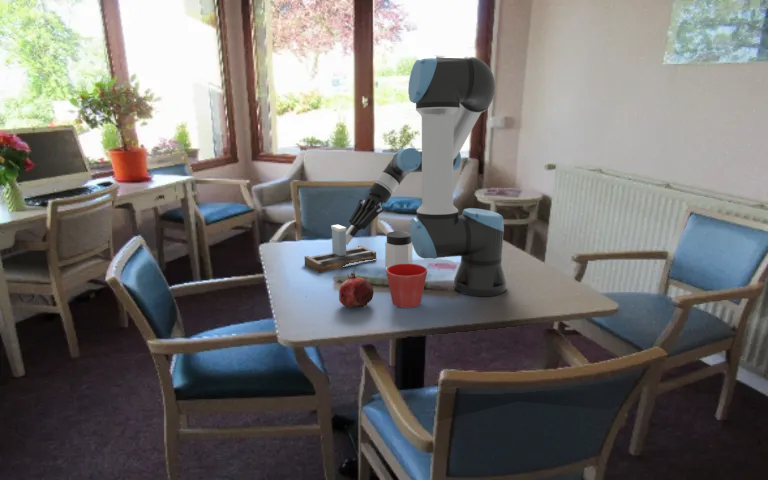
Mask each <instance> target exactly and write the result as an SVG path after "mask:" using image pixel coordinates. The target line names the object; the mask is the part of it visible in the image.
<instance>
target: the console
mask: <svg viewBox="0 0 768 480" xmlns="http://www.w3.org/2000/svg"><path fill="white" fill-rule="evenodd" d="M334 255H335V254H334V253H333V251H331V252H328V253H323V254H317V255H312V256H308V255H305V256H304V266H306V267H308V268H309V269H311V270H313V272H316V273H317V274H320V273H325V272H331V271H335V270H338V269H343V268H342V267H343V266H345V265H346V264H349V263H354V262H359V261H365V260H373V259H376V260H377V252H376V251H374V250H373V249H369V248H367V247H365V246H363V245H357V247H354V248H348V249H347V248H346V255H344V256H340V257H335V258H334Z"/></svg>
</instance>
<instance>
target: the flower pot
mask: <svg viewBox="0 0 768 480" xmlns="http://www.w3.org/2000/svg"><path fill="white" fill-rule="evenodd" d="M385 271H386V277H387V281H388V282H387V283H388V287H389V288H388V289H389V292H390V297H391V302H392V304H393V305H394V306H396V307H398V308H406V309H408V308H409V309H411V308H415V307H418V306H420V305H421V302H422V298H423V295H424V294H423V293H424V290H425V285H426V279H427V274H428V269H427V268H426V267H425V266H423V265H420V264H415V263H412V264H397V265H393V266H390V267H388V268H387V270H385Z"/></svg>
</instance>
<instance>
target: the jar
mask: <svg viewBox="0 0 768 480" xmlns="http://www.w3.org/2000/svg"><path fill="white" fill-rule="evenodd" d="M384 246H385V248H384V249H385V253H384V255H385V259H384V260H385V267H387V268H388V267H390V266H393V265H397V264H413V249H414V247H413V244H412V241H411V236H410V231H409V232H408V231H403V230H402V231H401V230H397V231H396V230H395V231H390V232H387V233H386V242H385V244H384Z"/></svg>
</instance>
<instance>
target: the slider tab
mask: <svg viewBox="0 0 768 480" xmlns="http://www.w3.org/2000/svg"><path fill="white" fill-rule="evenodd" d="M330 228H331V243H332V252H333V253H334V254H335V255H334V258H335V257H340V256H344V255H346V250H347V245H346V231H347V227H346V226H343V225H340V224H333V225H331V226H330Z"/></svg>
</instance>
